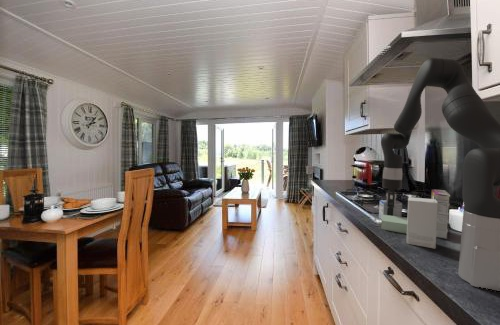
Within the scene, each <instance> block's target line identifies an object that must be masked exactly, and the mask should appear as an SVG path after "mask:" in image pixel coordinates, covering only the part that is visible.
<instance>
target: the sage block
mask: <svg viewBox="0 0 500 325" xmlns="http://www.w3.org/2000/svg"><path fill="white" fill-rule="evenodd" d="M380 224H381V226H380V229H381V230H383V231H390V232H395V233H402V234H406V235H407V217H404V216H401V217H397V216H390V215H383V214H382V220H381V223H380Z"/></svg>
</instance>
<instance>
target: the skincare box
mask: <svg viewBox="0 0 500 325" xmlns="http://www.w3.org/2000/svg"><path fill="white" fill-rule="evenodd" d="M437 209H438V202H437V201H436V199H431V198H422V197H413V196H408V198H407V217H406V218H407V234H406V244H408V245H413V246H418V247H424V248H428V249H434V250H435V249H437V237H436V230H437Z"/></svg>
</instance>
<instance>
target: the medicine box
mask: <svg viewBox="0 0 500 325" xmlns="http://www.w3.org/2000/svg"><path fill="white" fill-rule="evenodd" d="M386 201H387V199H385V200H383V199H380V200H379V209H378V219H380V218H381V219H382V214H383V215H387V210H388V208H387V205H388V203H387V202H386ZM389 205H393V203H389ZM402 211H403V202H401V201H399V200H396V201H395V204H394V208H393V216H397V217H402ZM381 219H380V220H381Z"/></svg>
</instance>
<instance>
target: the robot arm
mask: <svg viewBox="0 0 500 325" xmlns="http://www.w3.org/2000/svg"><path fill="white" fill-rule="evenodd" d="M426 87H434V88H441V89H443V91H445V92H446V95H447V96H446V97H445V98H444V100H443V101H442V102H443V103H442V105H441V113H442V115H443V116H444V119H445V120H446V123H447V124H448V127H450V128H451V129H452V130H453V131H454V132H456V133H457V134H459V135H461V136H463V137H464V138H466V139H467V140H469V141H470V142H472V143H474V144H476V145H477V146H478V148H473V149H471V150H470V151H468V152H467V153H466V154H465V157H464V160H463V164H462V191H461V192H462V201H463V212H462V213H463V214H462V215H463V216H462V224H461V236H460V247H459V248H460V250H459V259H458V260H459V262H458V271H457V272H458V277H459V278H461V279H462V280H463V281H465V282H467V283H469V284H470V285H471V286H472V287H476V288H479V287H481V288H480V289H483V288H486V289H485V290H488V289H492V290H497V291H500V198H498V197H497V196H496V195H495V192H494V187H499V188H500V122H499V121H498V120H497V119H496V117H495V116H494V115H493V113H492V112H491V111H490V109H489V107H488V106H487V104H486V102H484V101H483V99H482V97H481V96H480V94H478V92H476V90H475V88H474V87H473V85H472V84H471V82H470V80H469V79H468V76H467V74H466V73H465V70H464V68H463V66H462V63H460V62H459V61H458V60H455V59H452V58H451V59H450V58H440V57H439V58H438V57H430V58H427V59H426V60H424V62H423V63H422V64H421V65H420V67H419V69H418V71H417V73H416V75H415V78H414V80H413V83H412V85H411V88H410V90H409V93H408V96H407V99H406V102H405V104H404V106H403V108H402V110H401V112H400V114H399V115H398V118H397V119H396V120H395V123H394V124H393V129H394V131H396V132H397V133H396V132H394V133H393V132H388V133H384V134H383V135H382V136H381V140H380V145H381V148H382V153H383V158H384V160H383V161H384V162H383V170H382V183H381V184H382V185H381V187H382V188H383V189H386V190H387V189H388V190H387V191H386V192H385V197H386V200H387V201H386V202H387V203H388V205H387V208H388V210H387V215H390V216H393V208H394V204H395V201H397V200H396V199H397V192H396V190H402V189H403V188H402V185H403V160H404V158H403V156H402V155H400V154H397V153H395V151H394V150H404V149H405V148H406V147H407V146H408V145H409V144H410V139H411V137H412V136H411V135H412V133H413V130H414V128H415V127H416V125H417V124H418V122H419V120H420V119H421V117H422V114H423V113H422V112H423V111H422V100H421V98H422V94H423V92H424V90H425V89H426ZM479 147H480V148H479ZM389 203H393V205H389ZM487 288H488V289H487ZM492 290H491V291H492Z"/></svg>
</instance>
